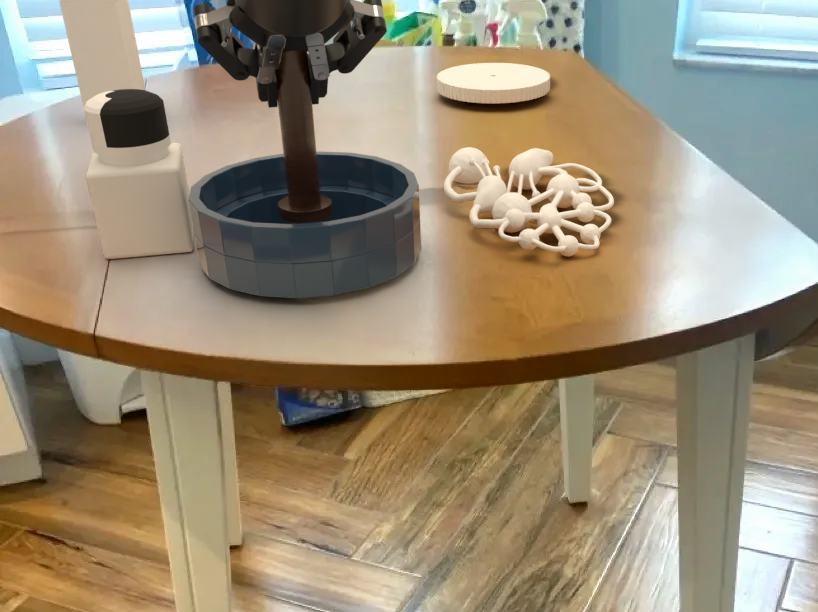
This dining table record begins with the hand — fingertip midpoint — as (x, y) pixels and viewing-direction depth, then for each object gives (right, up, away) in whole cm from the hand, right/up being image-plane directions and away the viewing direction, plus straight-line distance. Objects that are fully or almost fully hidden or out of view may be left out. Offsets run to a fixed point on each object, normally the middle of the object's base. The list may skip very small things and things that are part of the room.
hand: (291, 95), depth 75 cm
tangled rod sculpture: (+20, -7, +10) cm, 24 cm away
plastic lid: (+17, +16, +44) cm, 50 cm away
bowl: (+1, -12, +3) cm, 13 cm away
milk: (-27, +11, +38) cm, 48 cm away
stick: (+1, -8, +3) cm, 9 cm away
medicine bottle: (-13, -10, +6) cm, 18 cm away
